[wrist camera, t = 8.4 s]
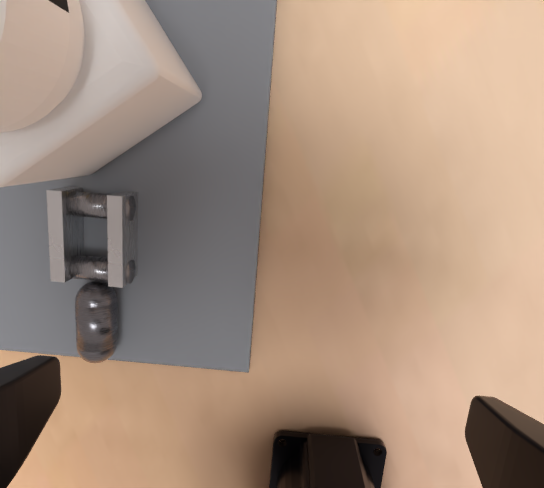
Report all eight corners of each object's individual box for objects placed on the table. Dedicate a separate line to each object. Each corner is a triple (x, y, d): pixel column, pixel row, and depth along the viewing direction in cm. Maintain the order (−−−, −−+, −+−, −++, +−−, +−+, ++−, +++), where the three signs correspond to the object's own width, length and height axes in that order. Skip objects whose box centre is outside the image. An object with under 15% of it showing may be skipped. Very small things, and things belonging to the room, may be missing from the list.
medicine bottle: (-3, 46, 19) (-453, -112, 7) (118, -45, 18) (-187, -396, 6) (89, 177, 20) (-175, 217, 9) (206, 98, 19) (85, 24, 8)
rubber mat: (249, 367, 23) (248, 372, 23) (-29, 342, 23) (-36, 346, 23) (300, -312, 16) (301, -327, 16) (-96, -338, 16) (-107, -353, 16)
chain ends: (137, 354, 23) (123, 373, 21) (73, 348, 23) (53, 367, 21) (141, -320, 16) (121, -385, 14) (50, -326, 16) (17, -392, 14)
